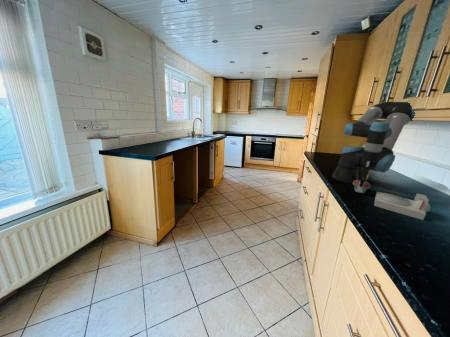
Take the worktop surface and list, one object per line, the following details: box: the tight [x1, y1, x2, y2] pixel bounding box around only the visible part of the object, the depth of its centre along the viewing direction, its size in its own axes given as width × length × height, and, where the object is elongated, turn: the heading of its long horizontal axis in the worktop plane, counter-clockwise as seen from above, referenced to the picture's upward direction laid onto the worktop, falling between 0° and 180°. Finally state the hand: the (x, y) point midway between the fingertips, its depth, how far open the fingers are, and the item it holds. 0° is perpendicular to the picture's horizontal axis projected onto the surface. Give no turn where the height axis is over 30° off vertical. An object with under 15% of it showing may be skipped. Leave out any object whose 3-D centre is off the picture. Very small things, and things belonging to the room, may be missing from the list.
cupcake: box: [352, 172, 372, 194], centre depth 104 cm, size 9×8×12 cm
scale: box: [374, 191, 431, 221], centre depth 89 cm, size 16×18×8 cm
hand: (359, 189), depth 106 cm, fingers closed on cupcake, 8 cm apart
